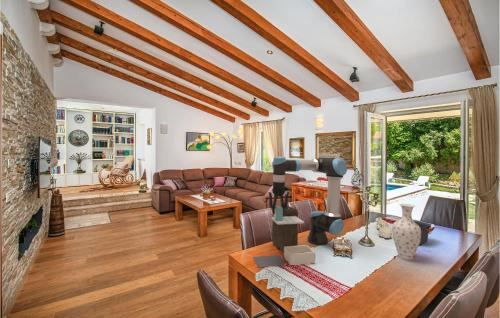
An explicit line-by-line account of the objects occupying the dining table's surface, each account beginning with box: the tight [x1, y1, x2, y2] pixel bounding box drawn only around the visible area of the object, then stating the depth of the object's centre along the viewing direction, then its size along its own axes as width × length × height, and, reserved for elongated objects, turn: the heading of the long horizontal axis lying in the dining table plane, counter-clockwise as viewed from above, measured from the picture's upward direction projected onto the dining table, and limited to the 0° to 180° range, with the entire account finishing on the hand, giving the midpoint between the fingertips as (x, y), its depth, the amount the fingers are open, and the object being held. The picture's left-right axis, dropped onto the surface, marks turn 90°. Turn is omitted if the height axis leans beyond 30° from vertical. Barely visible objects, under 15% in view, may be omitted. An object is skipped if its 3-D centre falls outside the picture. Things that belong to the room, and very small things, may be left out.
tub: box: [283, 244, 316, 266], centre depth 154 cm, size 16×12×7 cm
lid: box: [270, 205, 305, 225], centre depth 152 cm, size 17×13×9 cm
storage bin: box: [413, 220, 433, 246], centre depth 186 cm, size 21×16×14 cm
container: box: [271, 205, 299, 254], centre depth 173 cm, size 23×10×30 cm, turn 22°
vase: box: [391, 203, 421, 261], centre depth 159 cm, size 16×16×35 cm
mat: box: [252, 254, 286, 269], centre depth 152 cm, size 18×14×1 cm
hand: (278, 218), depth 151 cm, fingers closed on lid, 3 cm apart
